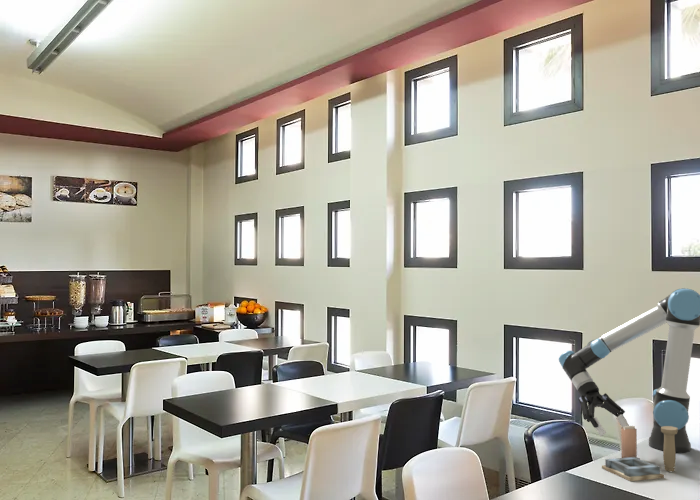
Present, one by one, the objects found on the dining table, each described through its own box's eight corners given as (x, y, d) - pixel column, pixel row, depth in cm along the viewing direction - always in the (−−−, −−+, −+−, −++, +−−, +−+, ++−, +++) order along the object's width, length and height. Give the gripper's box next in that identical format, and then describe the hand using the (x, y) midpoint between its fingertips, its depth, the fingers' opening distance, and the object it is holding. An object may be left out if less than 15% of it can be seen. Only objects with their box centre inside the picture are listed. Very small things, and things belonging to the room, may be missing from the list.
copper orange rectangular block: (629, 458, 230) (629, 424, 230) (639, 462, 225) (639, 427, 225) (618, 459, 228) (618, 425, 229) (628, 463, 223) (628, 428, 224)
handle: (680, 470, 216) (680, 428, 216) (672, 474, 212) (672, 430, 212) (666, 467, 220) (666, 425, 220) (658, 470, 216) (658, 427, 216)
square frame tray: (634, 465, 221) (634, 455, 221) (664, 477, 208) (664, 467, 208) (601, 468, 217) (601, 458, 217) (630, 481, 204) (629, 470, 204)
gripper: (602, 389, 253) (633, 434, 238) (557, 393, 242) (586, 441, 228) (613, 378, 248) (645, 424, 234) (567, 382, 237) (598, 430, 223)
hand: (616, 432), depth 231 cm, fingers open, 13 cm apart
